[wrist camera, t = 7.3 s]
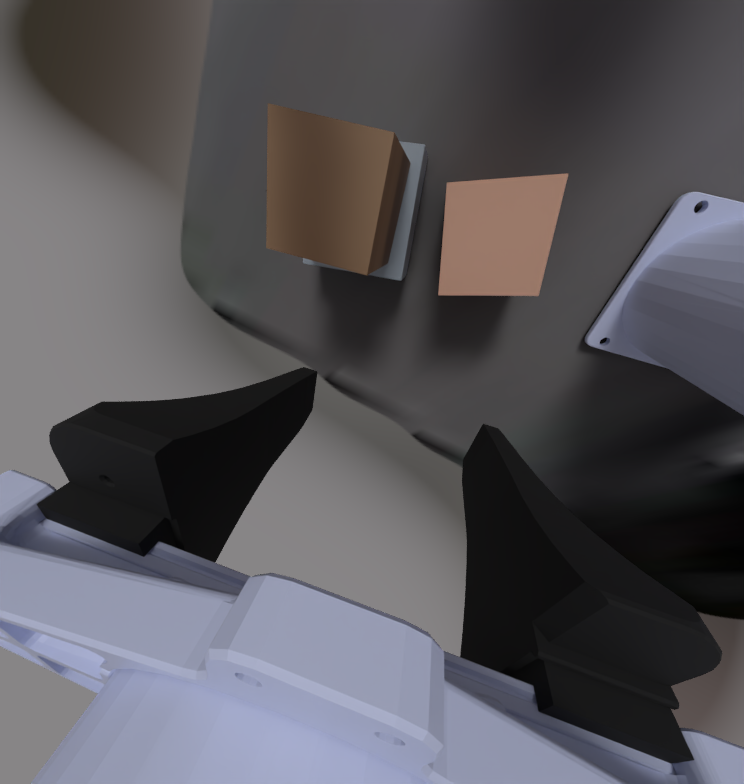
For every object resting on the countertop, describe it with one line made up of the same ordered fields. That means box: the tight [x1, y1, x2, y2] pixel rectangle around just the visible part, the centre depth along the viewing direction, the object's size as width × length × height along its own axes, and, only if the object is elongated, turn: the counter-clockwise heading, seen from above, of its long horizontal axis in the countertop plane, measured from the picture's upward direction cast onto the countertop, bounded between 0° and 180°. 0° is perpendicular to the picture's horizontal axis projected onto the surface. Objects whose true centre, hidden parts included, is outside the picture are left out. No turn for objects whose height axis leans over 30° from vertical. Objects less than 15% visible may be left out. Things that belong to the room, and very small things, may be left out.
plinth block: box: [303, 141, 428, 281], centre depth 16 cm, size 6×6×3 cm
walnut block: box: [266, 104, 411, 275], centre depth 13 cm, size 4×4×5 cm
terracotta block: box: [438, 173, 569, 296], centre depth 14 cm, size 4×4×5 cm
